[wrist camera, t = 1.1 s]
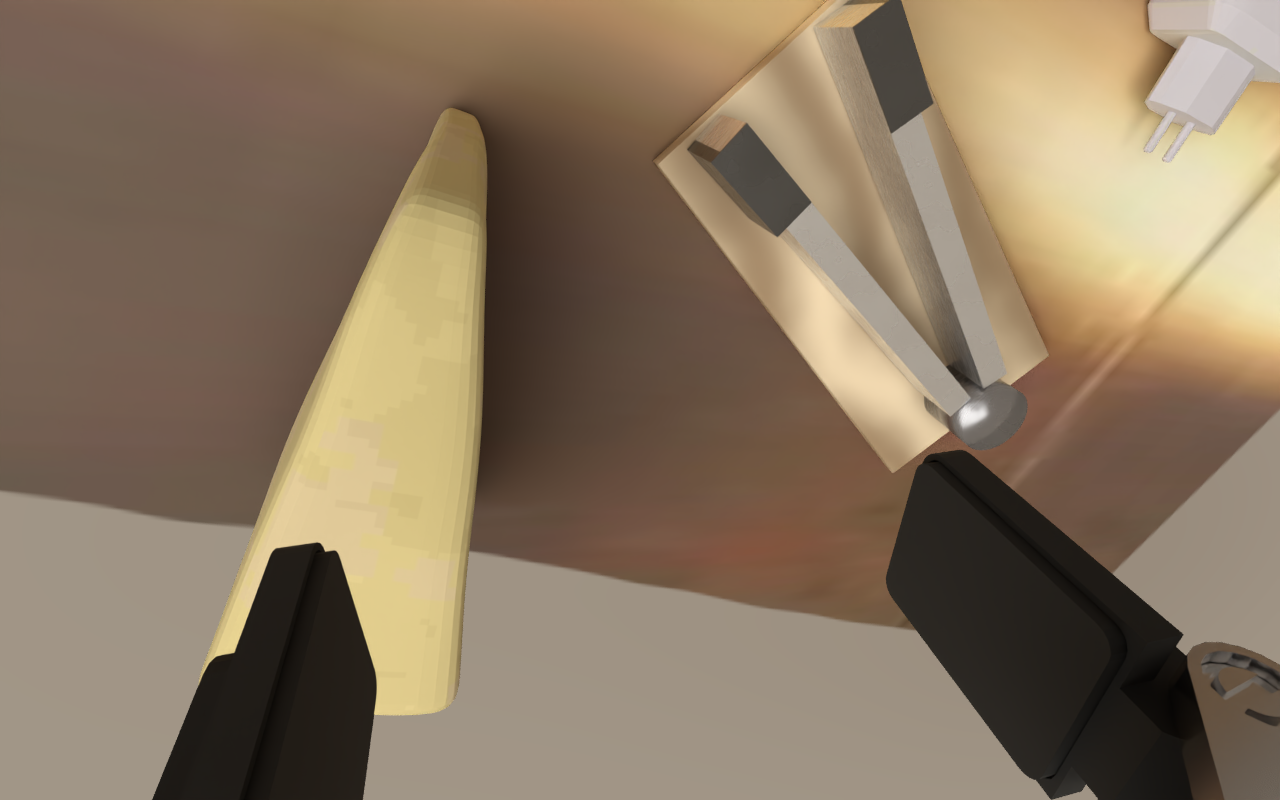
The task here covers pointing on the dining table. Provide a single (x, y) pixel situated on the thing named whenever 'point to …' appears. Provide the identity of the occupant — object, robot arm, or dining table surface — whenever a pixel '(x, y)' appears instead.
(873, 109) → the tongs leg
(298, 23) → the dining table surface
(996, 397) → the tongs hinge pin
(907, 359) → the tongs leg
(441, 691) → the cheese
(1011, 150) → the dining table surface
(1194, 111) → the charger
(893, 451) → the oak board
